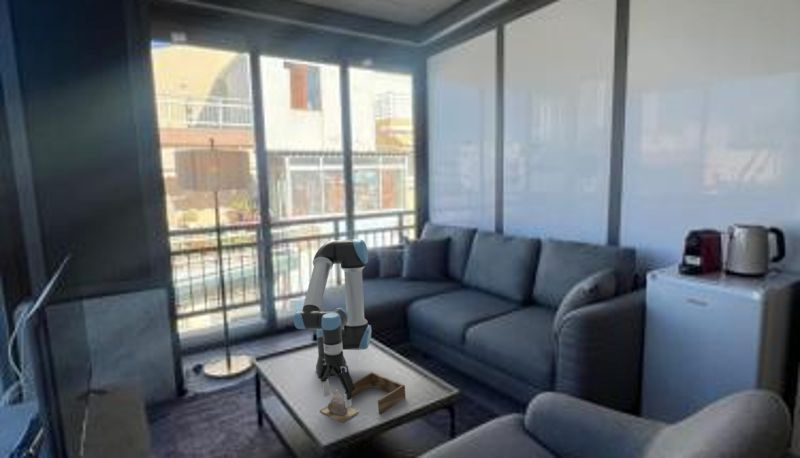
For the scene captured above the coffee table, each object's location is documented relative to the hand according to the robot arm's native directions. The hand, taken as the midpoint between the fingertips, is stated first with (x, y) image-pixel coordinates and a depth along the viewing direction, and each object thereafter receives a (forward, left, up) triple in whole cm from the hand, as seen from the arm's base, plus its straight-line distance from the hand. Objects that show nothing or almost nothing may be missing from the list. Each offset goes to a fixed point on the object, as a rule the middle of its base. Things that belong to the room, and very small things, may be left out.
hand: (337, 400), depth 180 cm
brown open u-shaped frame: (+5, +17, -5) cm, 18 cm away
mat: (0, 0, -5) cm, 5 cm away
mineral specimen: (0, +1, -5) cm, 5 cm away
